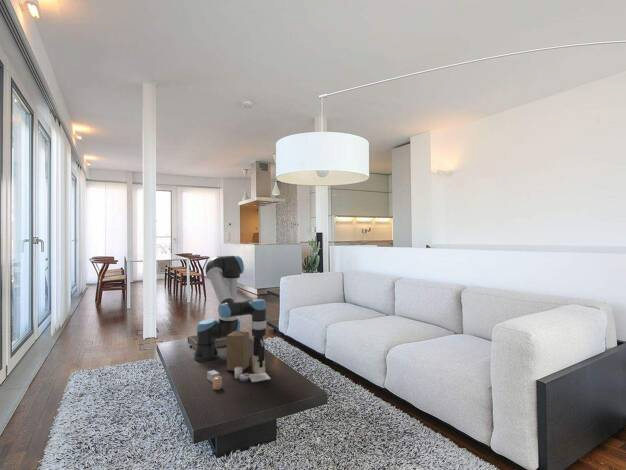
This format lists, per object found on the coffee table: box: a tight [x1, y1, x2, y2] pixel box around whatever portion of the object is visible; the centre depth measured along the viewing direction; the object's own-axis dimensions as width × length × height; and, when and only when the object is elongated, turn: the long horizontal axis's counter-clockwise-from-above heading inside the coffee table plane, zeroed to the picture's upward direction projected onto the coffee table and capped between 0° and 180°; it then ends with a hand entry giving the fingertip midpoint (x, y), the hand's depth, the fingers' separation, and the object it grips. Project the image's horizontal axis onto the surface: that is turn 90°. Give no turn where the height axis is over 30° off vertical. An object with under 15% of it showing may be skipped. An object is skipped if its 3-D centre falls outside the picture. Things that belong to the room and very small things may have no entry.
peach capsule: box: [212, 375, 223, 391], centre depth 182 cm, size 4×4×5 cm
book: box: [187, 334, 227, 351], centre depth 261 cm, size 30×22×5 cm
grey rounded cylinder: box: [234, 367, 243, 380], centre depth 196 cm, size 4×4×5 cm
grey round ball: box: [238, 372, 250, 383], centre depth 192 cm, size 5×5×3 cm
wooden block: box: [226, 331, 250, 372], centre depth 210 cm, size 10×10×20 cm
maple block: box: [252, 355, 266, 374], centre depth 196 cm, size 6×6×8 cm
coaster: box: [249, 371, 271, 383], centre depth 196 cm, size 10×10×1 cm
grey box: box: [206, 369, 220, 383], centre depth 193 cm, size 6×4×4 cm, turn 42°
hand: (258, 371), depth 196 cm, fingers closed on maple block, 6 cm apart
